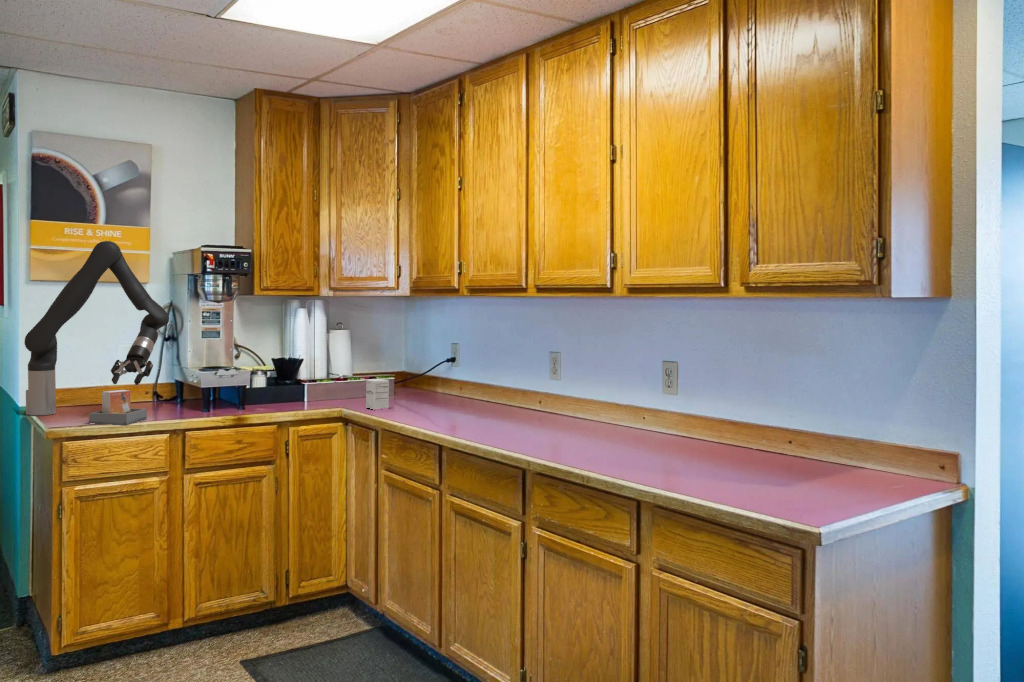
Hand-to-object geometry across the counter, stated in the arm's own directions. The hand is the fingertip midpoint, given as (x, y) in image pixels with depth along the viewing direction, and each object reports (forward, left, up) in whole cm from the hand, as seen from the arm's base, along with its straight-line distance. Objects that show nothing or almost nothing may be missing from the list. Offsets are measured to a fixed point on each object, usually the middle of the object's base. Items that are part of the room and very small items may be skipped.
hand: (124, 383), depth 302 cm
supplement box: (+86, +43, -14) cm, 97 cm away
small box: (-1, -5, -13) cm, 14 cm away
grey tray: (0, -5, -14) cm, 15 cm away
